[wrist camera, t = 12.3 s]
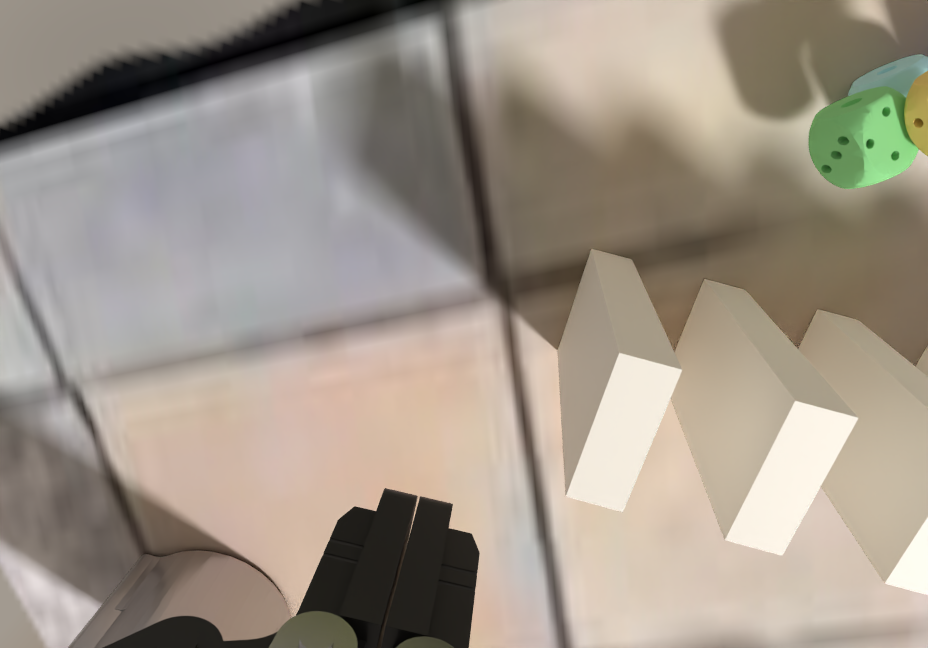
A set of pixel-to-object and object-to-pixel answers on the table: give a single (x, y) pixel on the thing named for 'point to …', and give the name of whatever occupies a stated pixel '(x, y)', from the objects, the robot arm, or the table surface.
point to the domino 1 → (611, 381)
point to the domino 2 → (754, 418)
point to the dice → (874, 126)
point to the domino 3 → (877, 446)
